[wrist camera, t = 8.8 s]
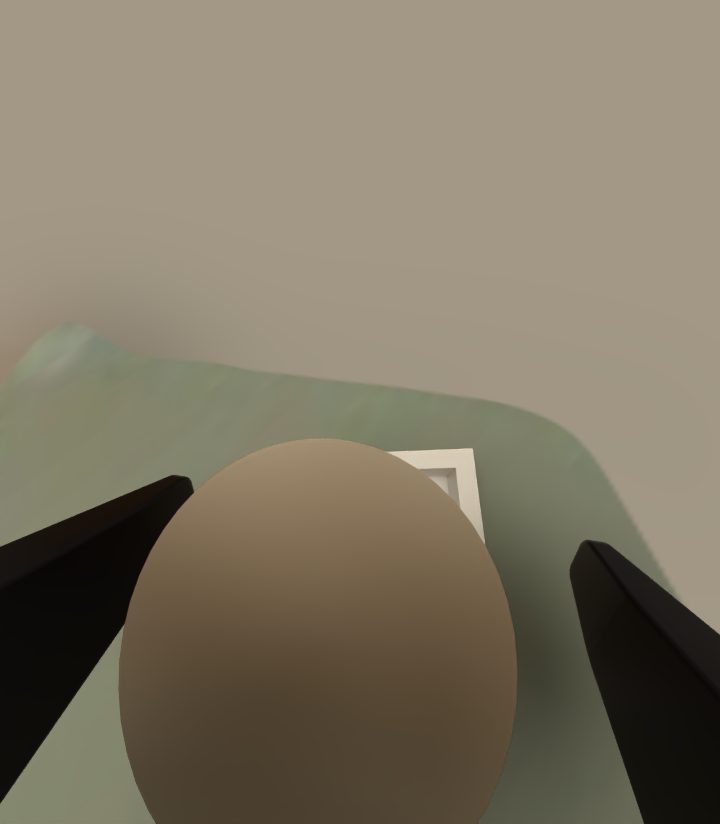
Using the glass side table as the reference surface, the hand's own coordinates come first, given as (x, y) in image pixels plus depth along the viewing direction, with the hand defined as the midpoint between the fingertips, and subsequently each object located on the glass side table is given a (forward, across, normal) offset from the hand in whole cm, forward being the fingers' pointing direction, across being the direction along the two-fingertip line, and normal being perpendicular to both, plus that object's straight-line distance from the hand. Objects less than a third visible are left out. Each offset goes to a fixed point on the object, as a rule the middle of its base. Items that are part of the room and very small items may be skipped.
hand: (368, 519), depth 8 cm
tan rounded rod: (+6, 0, +8) cm, 9 cm away
